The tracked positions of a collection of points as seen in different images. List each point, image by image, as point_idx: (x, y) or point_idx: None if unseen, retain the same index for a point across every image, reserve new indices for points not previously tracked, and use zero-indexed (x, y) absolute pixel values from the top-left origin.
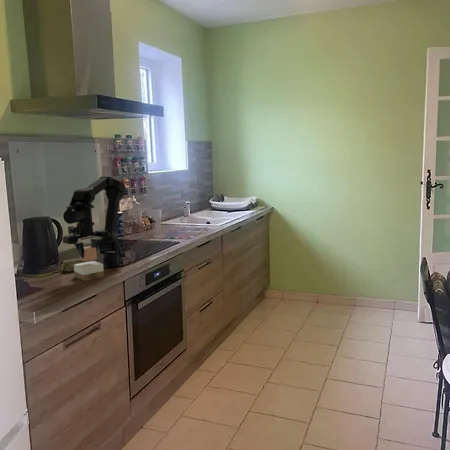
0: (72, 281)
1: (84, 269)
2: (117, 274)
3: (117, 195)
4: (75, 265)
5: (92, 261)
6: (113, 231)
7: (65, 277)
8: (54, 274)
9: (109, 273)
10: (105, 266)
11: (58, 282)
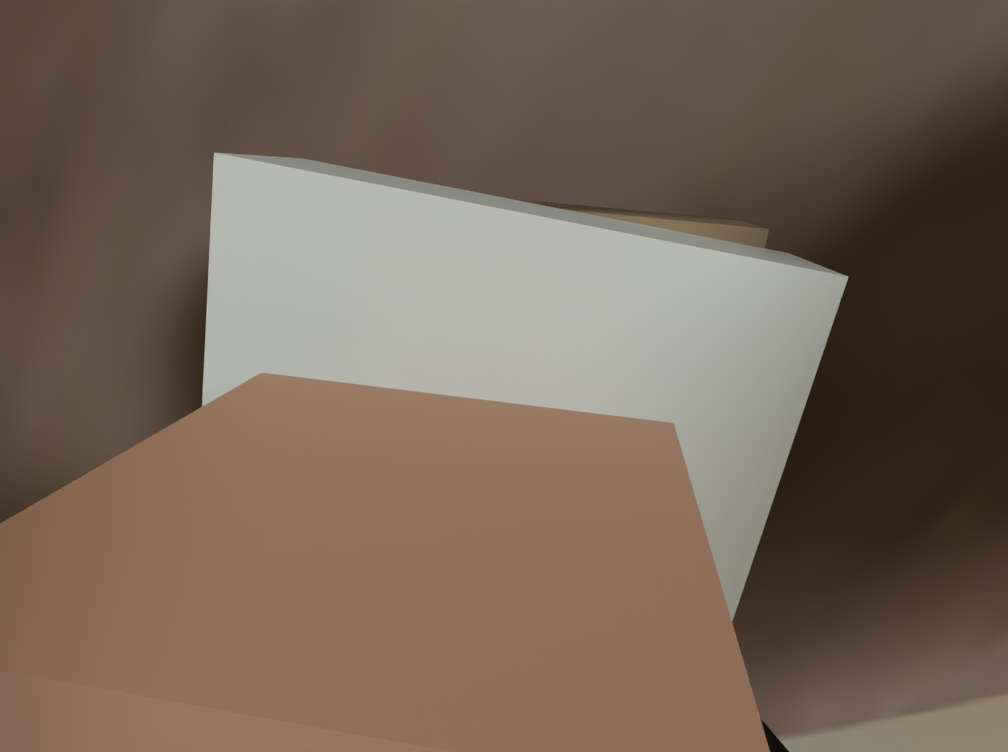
0: (185, 391)
1: None
2: (869, 685)
3: None
4: (213, 271)
5: (751, 320)
6: None
7: (218, 20)
8: None
9: (860, 521)
10: None
11: (10, 241)
